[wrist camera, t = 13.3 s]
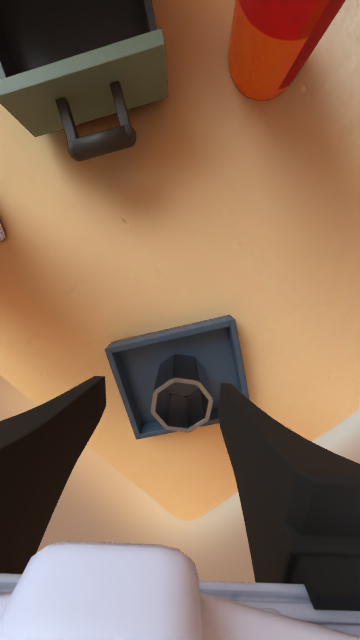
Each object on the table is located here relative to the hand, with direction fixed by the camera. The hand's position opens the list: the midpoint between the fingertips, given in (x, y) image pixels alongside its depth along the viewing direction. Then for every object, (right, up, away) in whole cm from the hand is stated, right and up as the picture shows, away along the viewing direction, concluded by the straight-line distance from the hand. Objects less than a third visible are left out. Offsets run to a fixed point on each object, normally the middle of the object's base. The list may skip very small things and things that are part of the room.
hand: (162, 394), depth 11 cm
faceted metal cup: (+1, -2, +9) cm, 10 cm away
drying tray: (+1, -2, +10) cm, 10 cm away
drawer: (-6, +25, +3) cm, 26 cm away
